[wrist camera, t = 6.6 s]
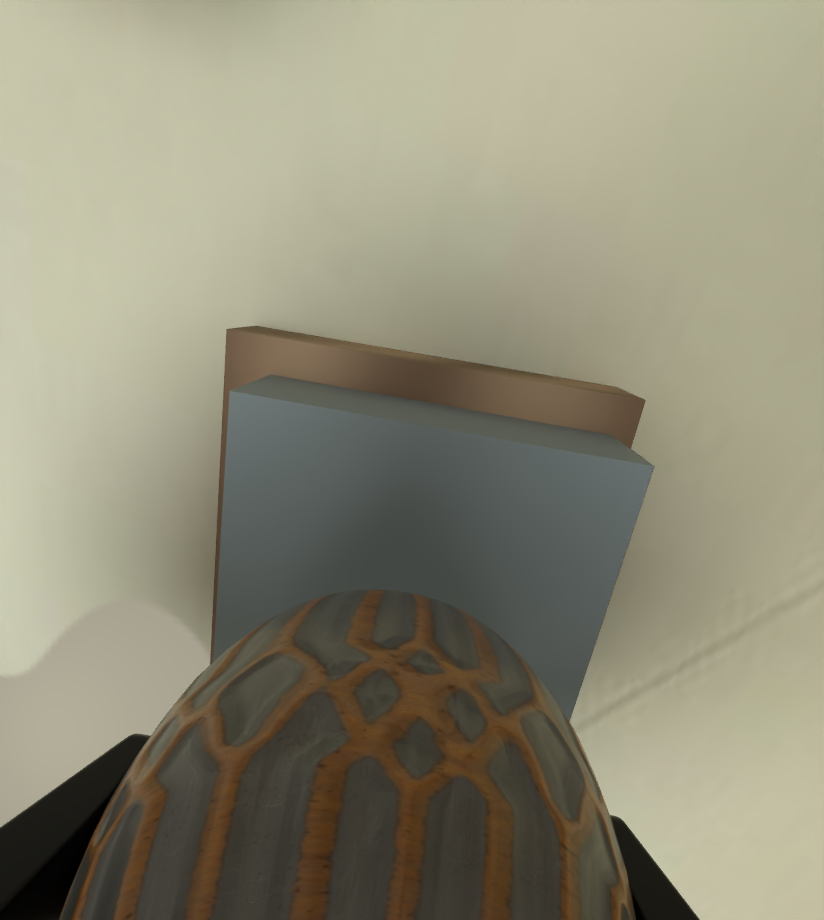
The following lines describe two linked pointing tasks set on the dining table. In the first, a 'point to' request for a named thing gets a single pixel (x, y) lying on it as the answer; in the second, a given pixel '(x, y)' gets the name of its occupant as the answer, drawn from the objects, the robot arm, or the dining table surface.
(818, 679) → the dining table surface
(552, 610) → the tower top
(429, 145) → the dining table surface
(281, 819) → the vase
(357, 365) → the tower base
